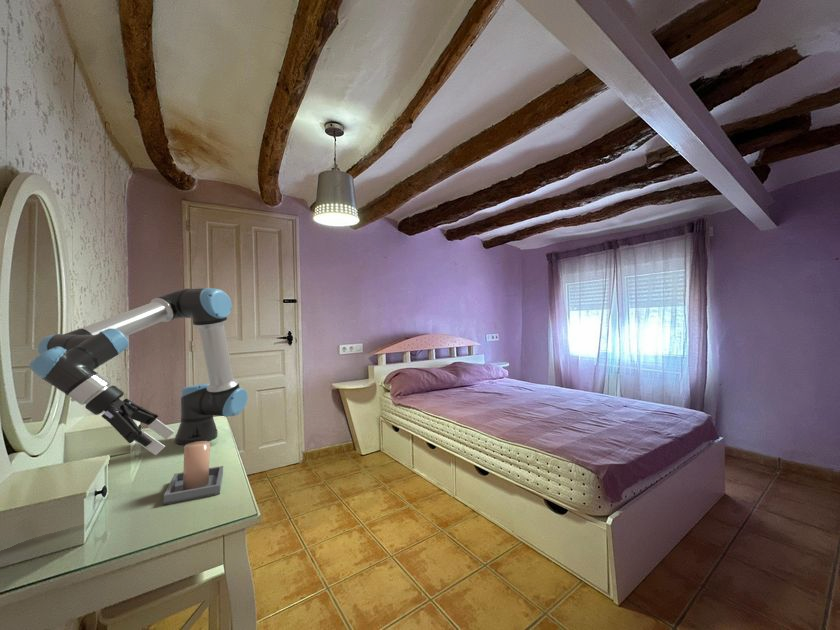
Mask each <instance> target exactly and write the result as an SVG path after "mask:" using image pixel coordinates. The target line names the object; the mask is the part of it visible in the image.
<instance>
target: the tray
mask: <svg viewBox="0 0 840 630" xmlns="http://www.w3.org/2000/svg"><path fill="white" fill-rule="evenodd" d="M223 477H224V465H221V466H219V465H218V466H213V467H209V484H208V485H207V486H205V487H200V488H195V489H189V490H184V489H183V471H182V472H177V473H173V476H172V478H171V480H170V482H169V484H168V486H167V488H166V490H165V492H164V494H163V501H162V502H163V503H162V504H163V506H167V505H171V504H175V503H176V504H177V503H182V502H187V501H191V500H196V499H198V500H199V499H203V498H207V497H212V496H217V495H220V494H221V488H222V484H223V483H222V482H223Z"/></svg>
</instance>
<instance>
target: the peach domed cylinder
mask: <svg viewBox="0 0 840 630" xmlns="http://www.w3.org/2000/svg"><path fill="white" fill-rule="evenodd" d="M210 446H211V442H210V441H198V442H193V443H189V444H187V445H183V448H184V450H183V469H182V470H183V471H182V472H183V489H184V490H189V489H195V488H200V487H205V486H207V485H208V484H209V468H210V455H211V454H210V450H211V448H210Z"/></svg>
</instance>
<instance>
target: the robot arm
mask: <svg viewBox="0 0 840 630" xmlns="http://www.w3.org/2000/svg"><path fill="white" fill-rule="evenodd" d="M232 308H233V307H232V301H231V299H230V296H229V295H228V294H227V293H226V292H225V291H224V290H222V289H220V288H214V287H213V288H212V287H204V288H201V287H199V288H182V289H181V288H180V289H177V290H175V291H172V292H169V293H166V294H163V295H161V296H157V297H155V298H152V299H151V301H150V302H149V303H147V304H144V305H141V306H139V307H136V308H133V309H130V310H128V311H125V312H122V313H118V314H116V315H113V316H111V317H108V318H106V319H102V320H100V321H97V322H95V323H91V324H89V325H86V326H83V327H80V328H78V329H75V330H72V331H69V332H67V333H63V334H61V333H56V334H50V335H47V336H45V337H44V338H42V339H41V340H40V341H39V343H38V346H37V351H38V354H39V355H38V356H36V357H35V358H34V359H33V360H31V362H30V363H29V369H30V371H32V372H33V373H34V374H36V375H37V376H38V377H39V378H41V380H43V381H45V382H47V383H48V384H50V385H51V386H53V387H54V388H56V389H57V390H59V391H60V392H62V393H63V394H65V395H66V396H68V397H69V398H70V401H71V402H77V403H78V404H79V405H84V408H85V409H86V410H87V411H89V412H91V413H92V414H93V415H94V416H95V415H96V416H98V415H101V414H102V413H103V412H104V413H103V414H102V415H101V417H102V418H103V419H104V420H105V421H107V422H108V423H109V424H110V425H111V426H112V427H113V428H114V429H115V430H116V432H118V434H119V435H121V437H122V438H124V440H126V441H127V443H129V444H132V443H133V442H136V443H137V444H138V445H140V446H141V447H142V448H144V449H145V450H147V451H148V452H150V453H151V454H153V455H154V456H157V455H158V454H159V453H160V452H161V451H162V450H164V448H165V447H166V445H164V444H163V443H162V442H160V441H159V440H157V439H156V438H154V437H153V436H152V435H150V434H149V433H147V432H146V431H143V432H142V430H141V429H140V427H139V426H138V425H137V423H136V422H135V421H137V422H139V423H142V424H144V425H147V427H148V428H149V429H150V430H152V431H153V432H155V433H156V434H157V435H158V436H161V438H163V439H164V440H166V441H167V440H168V438H170V437H171V436H172V435H173V434H174V433H175V431H174V430H173V429H171V428H170V427H169V426H167V425H166V424H165V423H163V422H162V421H161V420H159V419H157V418H159V415H158V414H157V413H153V412H152V411H150V410H147V409H146V408H144V407H142V406H140V405H138V404H136V403H135V402H133V401H131V400H130V399H128V398H124V399H123V400H121V398H122V397H123V396H124V395H125V392H124V391H122V389H120V388H119V387H117V386H116V385H111V383H112V382H111V381H109V380H108V379H106V378H105V377H104V376H102V375H101V374H100V373H98V372H96V371H95V370H96V369H98V367H100V366H102V365H103V364H105V363H107V362H108V361H109V362H110V360H112V359H114V358H115V357H117V356H120V354H121V353H122V352H123V351H125V350H127V349H128V348H129V346H130V342H129V339H128V338H127V337H128V336H130V335H132V334H136V333H137V332H140V331H142V330H144V329H147V328H149V327H151V326H154V325H156V324H159V323H162V322H163V323H167V322H170V321H172V320H176V319H177V320H178V319H191V320H192V321H191V322H192V324H193V326H194V327H196V328H198V331H199V337H200V341H201V345H202V346H201V347H202V350H203V355H204V359H205V360H204V361H205V365H206V370H207V375H208V380H209V383H208V382H207V383H200V384H192V385H188V386H185V387H184V388H183V389H182V390H181V397H180V423H179V426H178V429H177V431H176V435H175V436H174V443H175V444H177V445H182V446H185V445H187V444H189V443H193V442H198V441H209V442H210V441H212V440H214V439H217V438H218V433H219V432H218V428H217V426H216V425H217V424H216V423H215V420H214V416H217V417H226V418H228V417H235V416H238V415H240V414H241V413H242V412H243V411H244V409H245V407H246V405H247V403H248V397H249V395H248V392H247V390H246V389H245V388H243V387H240V382H239V380H238V379H236V378H234V373H233V368H232V362H231V357H230V352H229V347H228V346H229V345H228V341H227V339H228V338H227V335H226V329H225V324H226V322H227V321H228V316H229V315H231V313H232V312H231V310H232Z"/></svg>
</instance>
